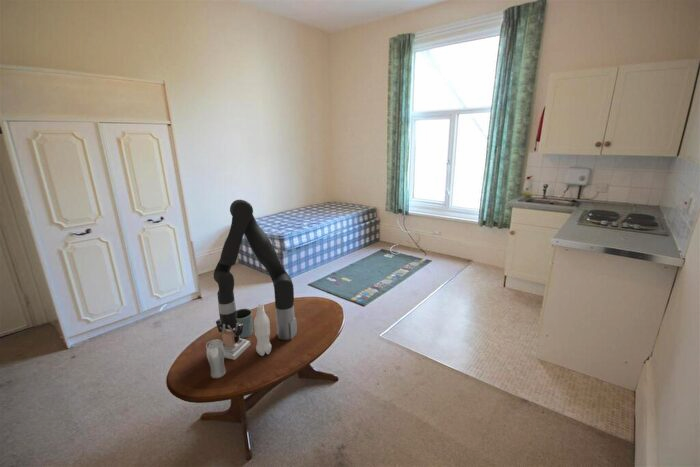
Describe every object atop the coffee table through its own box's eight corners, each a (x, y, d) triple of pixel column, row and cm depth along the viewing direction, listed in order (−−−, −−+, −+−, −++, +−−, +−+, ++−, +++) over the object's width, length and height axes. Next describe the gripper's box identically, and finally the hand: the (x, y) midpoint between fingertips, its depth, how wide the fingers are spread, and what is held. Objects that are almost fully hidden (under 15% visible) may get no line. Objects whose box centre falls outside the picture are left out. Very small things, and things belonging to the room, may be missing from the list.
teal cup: (254, 337, 164) (252, 316, 161) (233, 341, 161) (231, 320, 157) (253, 326, 173) (251, 307, 170) (233, 330, 170) (231, 310, 166)
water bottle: (258, 359, 147) (253, 311, 140) (255, 350, 153) (250, 304, 146) (273, 354, 150) (269, 307, 143) (269, 346, 157) (266, 300, 150)
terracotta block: (240, 339, 154) (238, 328, 153) (232, 346, 150) (231, 335, 148) (230, 337, 156) (229, 326, 154) (223, 344, 151) (221, 333, 149)
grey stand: (250, 344, 158) (249, 338, 157) (234, 359, 147) (234, 353, 146) (230, 340, 161) (229, 334, 160) (213, 354, 150) (212, 348, 149)
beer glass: (212, 368, 141) (208, 339, 137) (228, 367, 142) (225, 338, 138) (207, 379, 135) (202, 349, 130) (224, 378, 135) (220, 348, 131)
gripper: (245, 308, 149) (248, 339, 154) (220, 303, 154) (224, 333, 158) (235, 316, 142) (239, 348, 147) (209, 311, 147) (213, 342, 151)
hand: (231, 340), depth 153 cm, fingers closed on terracotta block, 5 cm apart
